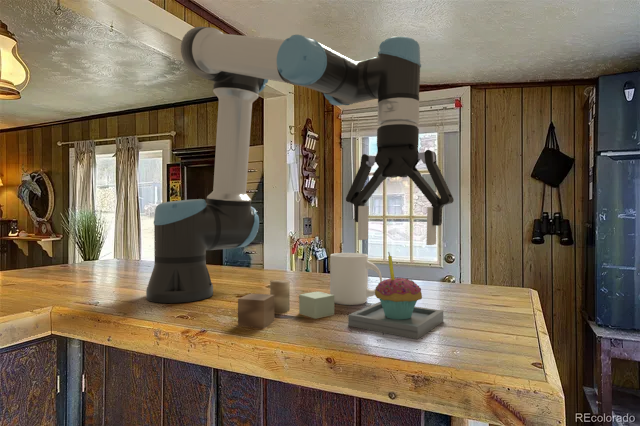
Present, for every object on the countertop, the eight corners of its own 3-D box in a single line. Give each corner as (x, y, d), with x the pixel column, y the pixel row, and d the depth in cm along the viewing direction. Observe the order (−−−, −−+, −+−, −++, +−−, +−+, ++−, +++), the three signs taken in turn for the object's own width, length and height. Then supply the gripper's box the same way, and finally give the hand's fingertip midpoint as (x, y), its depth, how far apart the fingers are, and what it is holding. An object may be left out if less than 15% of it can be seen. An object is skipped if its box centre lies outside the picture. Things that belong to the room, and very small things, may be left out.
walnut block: (237, 326, 71) (237, 298, 71) (249, 319, 76) (249, 293, 76) (263, 328, 70) (263, 300, 70) (274, 321, 75) (274, 294, 75)
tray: (348, 325, 72) (348, 314, 72) (380, 311, 82) (380, 301, 82) (417, 339, 64) (417, 326, 64) (443, 321, 75) (443, 310, 75)
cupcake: (391, 324, 68) (391, 254, 68) (366, 313, 76) (366, 250, 76) (431, 319, 72) (431, 252, 72) (403, 308, 79) (403, 248, 79)
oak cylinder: (266, 310, 83) (266, 281, 82) (278, 307, 86) (278, 279, 86) (280, 313, 80) (281, 283, 80) (293, 309, 84) (293, 281, 83)
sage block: (299, 314, 80) (299, 294, 80) (318, 310, 84) (318, 291, 84) (315, 319, 77) (315, 298, 77) (334, 315, 80) (334, 295, 80)
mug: (376, 308, 85) (377, 258, 85) (324, 303, 89) (324, 255, 89) (386, 300, 93) (386, 254, 93) (337, 296, 97) (337, 252, 97)
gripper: (330, 129, 77) (327, 238, 78) (461, 114, 63) (458, 248, 63) (349, 135, 83) (347, 236, 84) (473, 123, 69) (470, 245, 69)
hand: (395, 242), depth 74 cm, fingers open, 13 cm apart
